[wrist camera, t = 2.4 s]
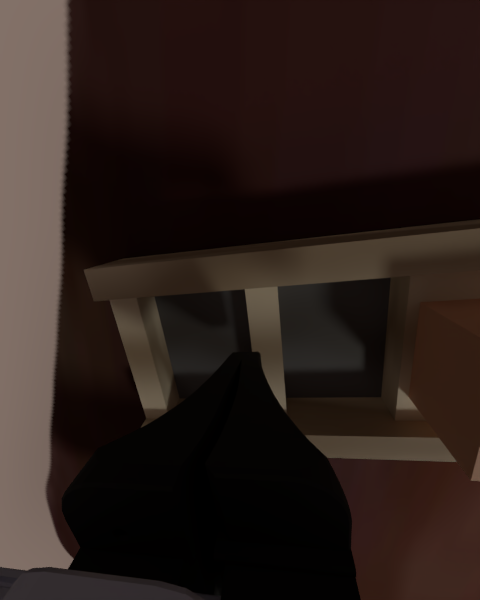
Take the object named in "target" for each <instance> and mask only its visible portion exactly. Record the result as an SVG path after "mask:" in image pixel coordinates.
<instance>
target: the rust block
mask: <svg viewBox="0 0 480 600" xmlns="http://www.w3.org/2000/svg"><path fill="white" fill-rule="evenodd" d="M409 398H410V400H411V401H412V402H413V404H414V405H415V406H416V408H417V409H418V410H419V412H420V413H421V414H422V416H423V417H424V418H425V420H426V421H427V422H428V424H429V425H430V426H431V428H432V429H433V430H434V432H435V433H436V434H437V436H438V437H439V438H440V440H441V441H442V443H443V444H444V445H445V447H446V448H447V449H448V451H449V452H450V453H451V455H452V456H453V457H454V459H455V460H456V461H457V463H458V464H459V465H460V467H461V468H462V469H463V471H464V472H465V473H466V475H467V476H468V477H469V479H470V480H471V481H480V299H464V300H448V301H433V302H420V309H419V317H418V325H417V333H416V341H415V349H414V357H413V365H412V373H411V381H410V389H409Z"/></svg>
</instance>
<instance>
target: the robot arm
mask: <svg viewBox="0 0 480 600" xmlns="http://www.w3.org/2000/svg"><path fill="white" fill-rule="evenodd" d="M62 512H63V514H64V517H65V520H66V521H67V523H68V525H69V527H70V529H71V531H72V532H73V534H74V536H75V538H76V540H77V542H78V544H79V545H80V547H81V548H80V549H79V551H78V553H77V554H76V556H75V558H74V560H73V562H72V563H71V565H70V567H69V568H68V569H61V568H60V569H59V568H52V567H46V568H32V569H30V570H28V571H25V570H17V569H10V568H2V567H0V600H360V595H359V591H358V587H357V582H356V578H355V577H356V569H355V564H354V560H353V556H352V551H351V529H352V519H351V512H350V508H349V505H348V502H347V500H346V497H345V494H344V492H343V489H342V487H341V485H340V482H339V480H338V478H337V476H336V474H335V472H334V470H333V468H332V466H331V465H330V463H329V461H328V459H327V457H326V456H325V455H324V454H323V453H322V452H321V451H320V450H319V449H318V448H317V447H316V446H315V445H313V444H312V443H311V442H310V441H309V440H308V438H307V437H306V436H305V435H304V434H303V433H302V432H301V431H300V430H299V429H298V427H297V426H296V425H295V424H294V422H293V421H292V420H291V419H290V417H289V416H288V415H287V414H286V412H285V411H284V409H283V408H282V406H281V405H280V403H279V402H278V400H277V399H276V397H275V395H274V393H273V392H272V390H271V388H270V386H269V384H268V381H267V379H266V377H265V374H264V372H263V369H262V363H261V354H260V353H259V352H258V351H257V352H233V353H232V354H231V355H230V356H229V357H228V358H227V359H226V360H225V361H224V363H223V364H222V365H221V366H220V367H219V368H218V369H217V370H216V371H215V372H214V373H213V375H212V376H211V377H210V378H209V379H208V380H207V381H206V382H204V383H203V384H202V385H201V386H200V387H199V388H198V389H197V390H196V391H195V392H194V393H192V394H191V395H190V396H189V397H187V398H186V399H185V400H184V401H182V402H181V403H180V404H178V405H177V406H175V407H174V408H172V409H171V410H169V411H168V412H166V413H165V414H163V415H162V416H160V417H159V418H157V419H155V420H154V421H152V422H150V423H149V424H147V425H145V426H143V427H141V428H140V429H138V430H136V431H134V432H132V433H130V434H128V435H126V436H124V437H122V438H120V439H117V440H115V441H113V442H111V443H109V444H107V445H105V446H102V447H100V448H98V449H97V450H96V451H95V453H94V454H93V455H92V457H91V458H90V459H89V461H88V462H87V463H86V465H85V466H84V467H83V469H82V470H81V471H80V473H79V474H78V475H77V477H76V478H75V479H74V481H73V482H72V483H71V484H70V486H69V487H68V488H67V490H66V491H65V493H64V495H63V497H62Z"/></svg>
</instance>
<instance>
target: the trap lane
mask: <svg viewBox="0 0 480 600" xmlns="http://www.w3.org/2000/svg"><path fill="white" fill-rule="evenodd" d="M84 273H85V276H86V279H87V282H88V285H89V288H90V291H91V294H92V297H93V300H94V301H104V300H110V303H111V306H112V310H113V313H114V316H115V319H116V322H117V326H118V329H119V332H120V335H121V339H122V342H123V345H124V348H125V351H126V355H127V358H128V361H129V364H130V367H131V371H132V374H133V377H134V380H135V384H136V387H137V390H138V393H139V396H140V400H141V403H142V406H143V409H144V412H145V416H146V420H145V421H144V423H143V425H142V426H141V427H143V426H145V425H147V424H149V423H150V422H152V421H154V420H155V419H157V418H159V417H160V416H162V415H163V414H165V413H166V412H168V411H169V410H171V409H172V408H174V407H175V406H177V405H178V404H180V403H181V402H182V401H184V400H185V399H186V398H187V397H189V396H190V395H191V394H192V393H194V392H195V391H196V390H197V389H198V388H199V387H200V386H201V385H202V384H203V383H204V382H206V381H207V380H208V379H209V378H210V377H211V376H212V375H213V373H214V372H215V371H216V370H217V369H218V368H219V367H220V366H221V365H222V364H223V363H224V361H225V360H226V359H227V358H228V357H229V356H230V355H231V354H232V353H233V352H257V351H258V352H259V353H260V354H261V363H262V369H263V372H264V374H265V377H266V379H267V381H268V384H269V386H270V388H271V390H272V392H273V393H274V395H275V397H276V399H277V400H278V402H279V403H280V405H281V406H282V408H283V409H284V411H285V412H286V414H287V415H288V416H289V417H290V419H291V420H292V421H293V422H294V424H295V425H296V426H297V427H298V429H299V430H300V431H301V432H302V433H303V434H304V435H305V436H306V437H307V438H308V440H309V441H310V442H311V443H312V444H313V445H315V446H316V447H317V448H318V449H319V450H320V451H321V452H322V453H323V454H324V455H325V456H326V457H327V458H355V459H385V460H416V461H446V462H457V461H456V460H455V459H454V457H453V456H452V455H451V453H450V452H449V451H448V449H447V448H446V447H445V445H444V444H443V443H442V441H441V440H440V438H439V437H438V436H437V434H436V433H435V432H434V430H433V429H432V428H431V426H430V425H429V424H428V422H427V421H426V420H425V418H424V417H423V416H422V414H421V413H420V412H419V410H418V409H417V408H416V406H415V405H414V404H413V402H412V401H411V400H410V398H409V389H410V381H411V373H412V365H413V357H414V349H415V341H416V333H417V325H418V317H419V309H420V302H433V301H448V300H464V299H480V219H477V220H468V221H459V222H450V223H441V224H432V225H423V226H414V227H405V228H396V229H387V230H378V231H368V232H359V233H350V234H341V235H332V236H323V237H314V238H305V239H296V240H287V241H278V242H269V243H260V244H251V245H242V246H232V247H223V248H214V249H205V250H196V251H187V252H178V253H169V254H160V255H151V256H142V257H133V258H124V259H120V260H116V261H113V262H109V263H106V264H102V265H99V266H95V267H92V268H88V269H85V270H84Z"/></svg>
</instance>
